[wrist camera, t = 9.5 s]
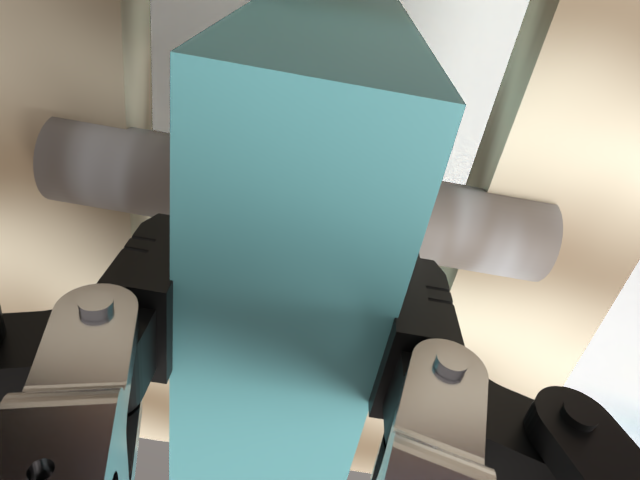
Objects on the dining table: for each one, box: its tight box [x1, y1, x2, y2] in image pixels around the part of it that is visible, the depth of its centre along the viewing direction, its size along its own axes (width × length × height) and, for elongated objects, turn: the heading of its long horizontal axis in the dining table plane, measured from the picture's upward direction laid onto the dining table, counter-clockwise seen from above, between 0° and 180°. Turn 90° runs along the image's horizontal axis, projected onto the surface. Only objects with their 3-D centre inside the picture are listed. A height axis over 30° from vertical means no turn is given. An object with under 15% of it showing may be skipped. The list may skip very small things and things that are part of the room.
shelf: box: [0, 0, 640, 474], centre depth 19 cm, size 24×20×13 cm
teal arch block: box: [169, 0, 466, 480], centre depth 15 cm, size 10×4×12 cm, turn 171°
